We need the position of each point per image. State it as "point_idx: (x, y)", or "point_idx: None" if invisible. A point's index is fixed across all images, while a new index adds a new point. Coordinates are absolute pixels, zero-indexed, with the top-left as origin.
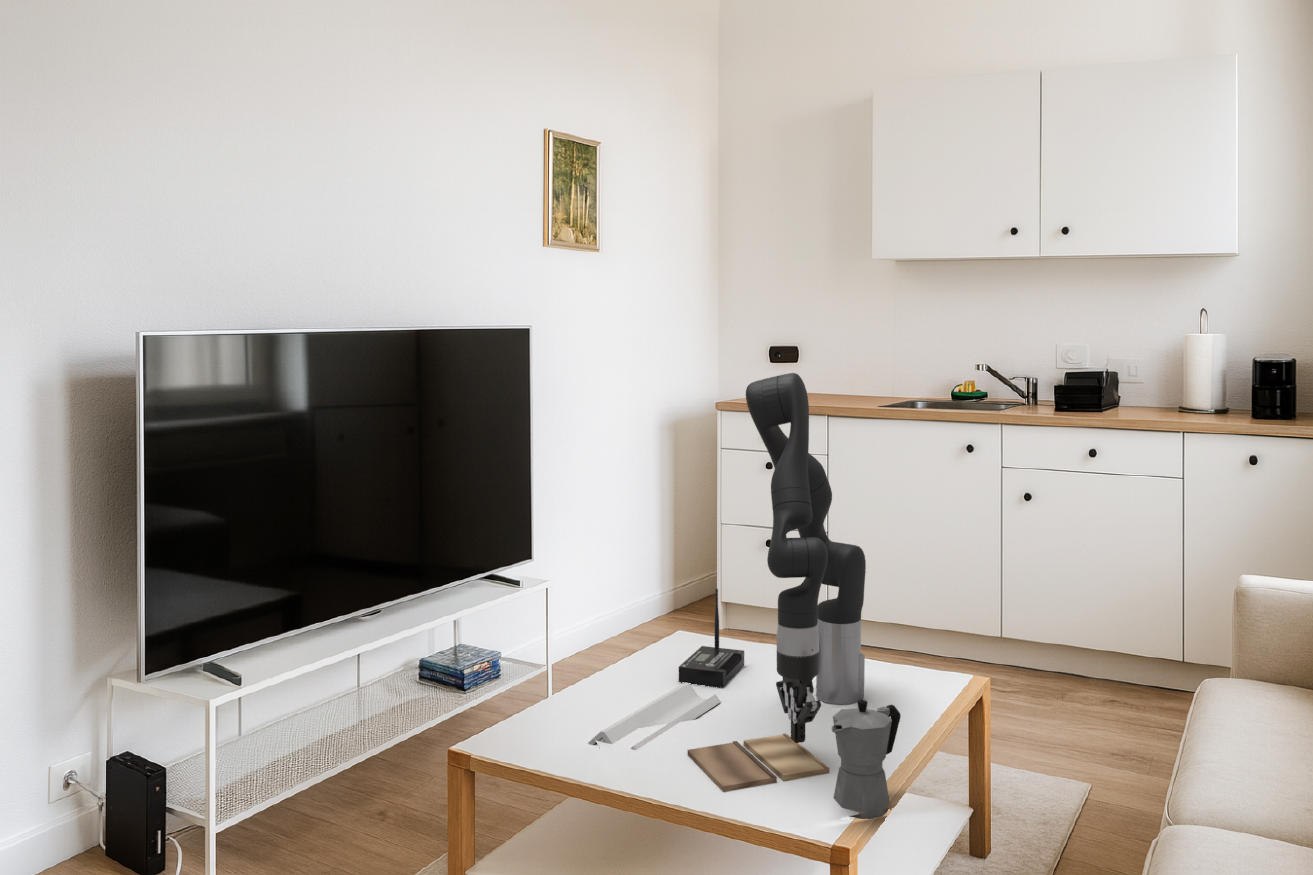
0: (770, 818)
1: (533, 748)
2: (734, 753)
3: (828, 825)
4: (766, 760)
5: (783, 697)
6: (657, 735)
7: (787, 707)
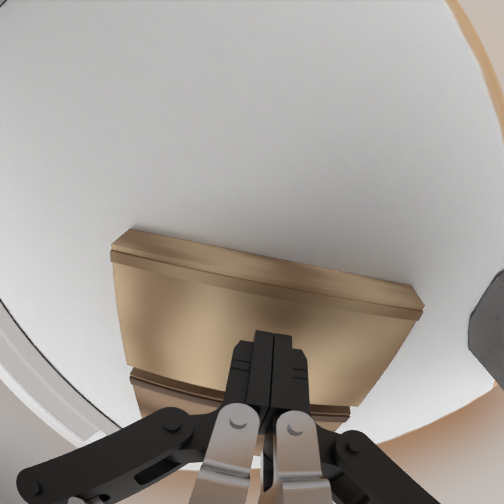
0: (402, 424)
1: None
2: (191, 410)
3: (479, 378)
4: None
5: (136, 490)
6: (72, 400)
7: (182, 464)
